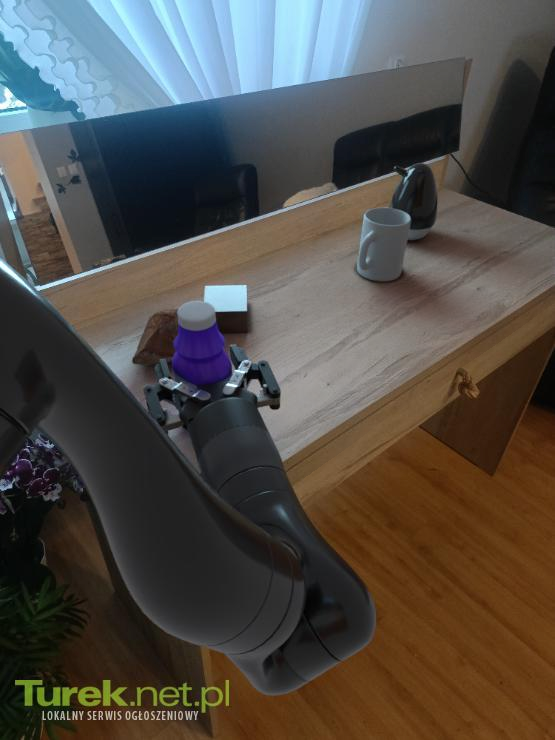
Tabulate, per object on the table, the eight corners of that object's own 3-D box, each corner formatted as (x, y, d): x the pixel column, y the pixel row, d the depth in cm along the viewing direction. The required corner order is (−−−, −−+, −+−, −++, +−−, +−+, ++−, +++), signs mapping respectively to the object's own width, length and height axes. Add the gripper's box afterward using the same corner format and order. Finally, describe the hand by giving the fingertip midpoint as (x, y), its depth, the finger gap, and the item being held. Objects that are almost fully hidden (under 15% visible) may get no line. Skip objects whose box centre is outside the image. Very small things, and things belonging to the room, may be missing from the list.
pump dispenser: (384, 223, 113) (395, 154, 103) (430, 227, 111) (446, 157, 102) (382, 242, 105) (394, 169, 96) (432, 247, 104) (449, 174, 94)
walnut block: (204, 333, 79) (202, 312, 77) (206, 305, 85) (205, 285, 83) (248, 331, 80) (247, 311, 77) (247, 305, 86) (246, 284, 83)
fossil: (193, 303, 79) (181, 276, 70) (223, 342, 78) (216, 320, 68) (126, 349, 77) (105, 328, 68) (157, 391, 76) (139, 375, 66)
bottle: (243, 422, 64) (238, 309, 53) (214, 448, 61) (202, 333, 50) (202, 399, 68) (189, 288, 56) (172, 423, 64) (152, 309, 53)
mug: (371, 256, 100) (378, 203, 93) (408, 269, 96) (420, 215, 89) (338, 278, 93) (344, 223, 86) (377, 294, 89) (387, 237, 82)
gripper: (307, 410, 47) (253, 320, 59) (158, 449, 43) (132, 344, 55) (303, 461, 52) (254, 368, 64) (168, 500, 48) (143, 393, 60)
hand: (198, 357), depth 59 cm, fingers open, 8 cm apart
